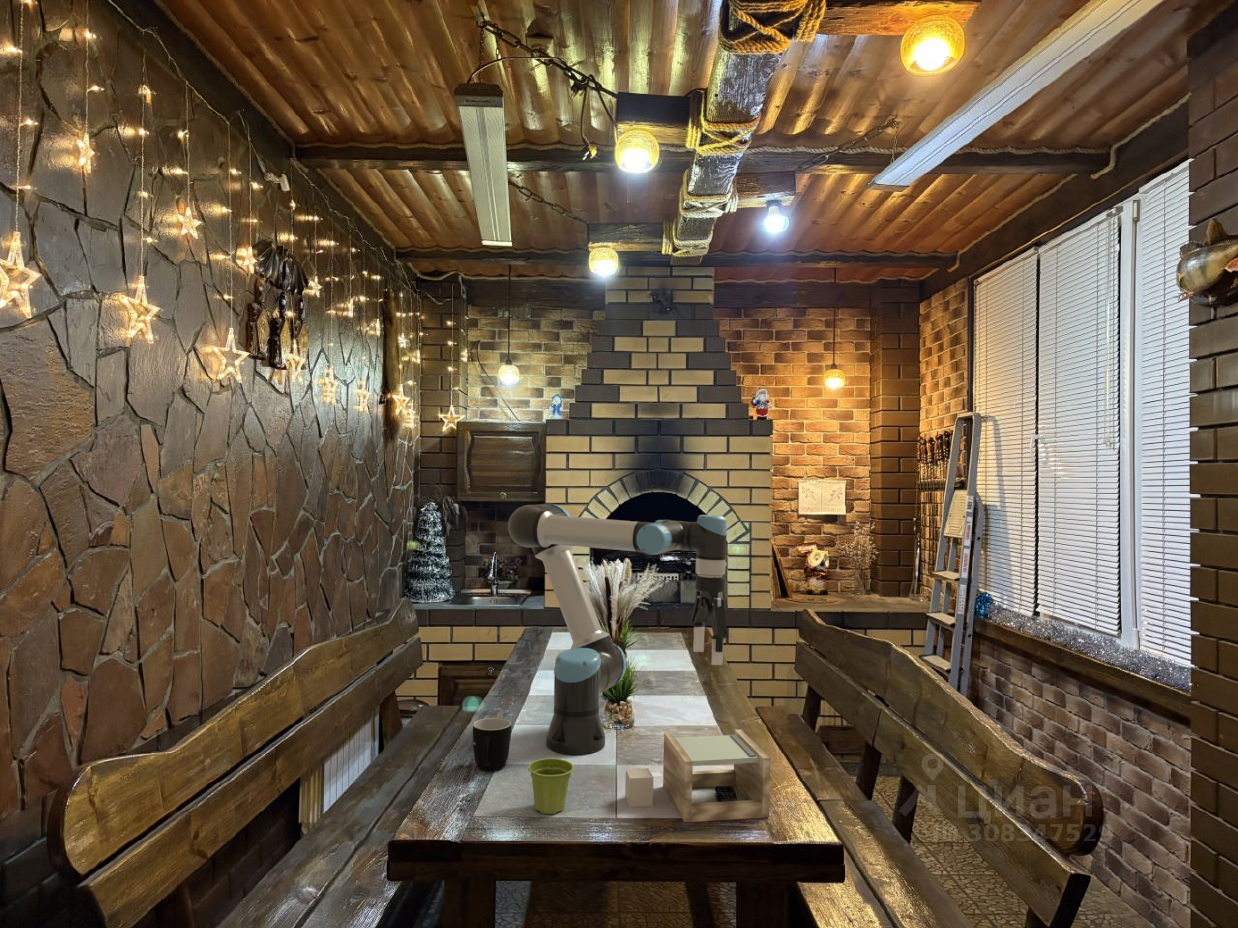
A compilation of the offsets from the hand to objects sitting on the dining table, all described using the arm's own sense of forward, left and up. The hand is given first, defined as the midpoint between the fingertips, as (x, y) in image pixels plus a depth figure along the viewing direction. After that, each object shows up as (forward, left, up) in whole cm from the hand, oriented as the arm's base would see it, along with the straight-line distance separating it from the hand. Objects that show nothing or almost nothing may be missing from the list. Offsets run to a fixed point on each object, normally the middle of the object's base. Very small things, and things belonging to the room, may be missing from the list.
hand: (707, 657), depth 199 cm
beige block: (-24, -30, -23) cm, 45 cm away
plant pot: (-43, -31, -23) cm, 58 cm away
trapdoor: (-8, -32, -12) cm, 35 cm away
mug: (-55, -8, -23) cm, 60 cm away
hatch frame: (-8, -32, -23) cm, 40 cm away
